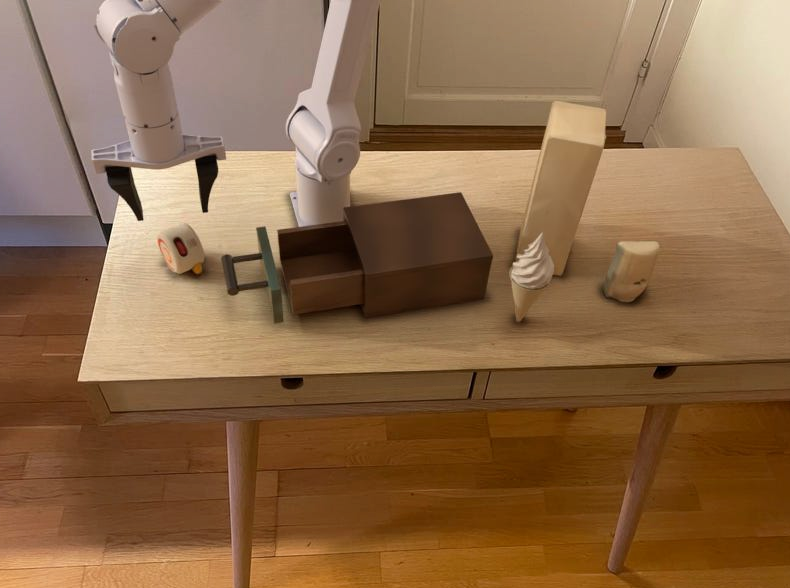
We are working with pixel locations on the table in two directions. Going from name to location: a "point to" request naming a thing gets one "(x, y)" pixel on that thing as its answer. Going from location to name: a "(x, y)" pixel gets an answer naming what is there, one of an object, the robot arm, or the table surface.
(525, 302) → the ice cream cone
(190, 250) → the roller toy
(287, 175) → the table surface
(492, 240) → the table surface
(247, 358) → the table surface
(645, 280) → the cream stubby rounded block
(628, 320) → the table surface
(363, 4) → the robot arm
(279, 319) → the drawer
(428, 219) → the cabinet
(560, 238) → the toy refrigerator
